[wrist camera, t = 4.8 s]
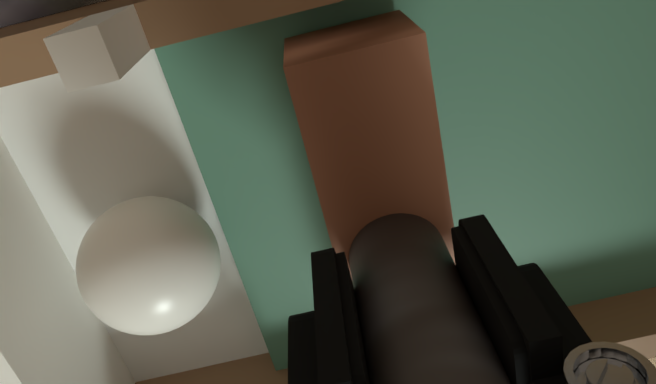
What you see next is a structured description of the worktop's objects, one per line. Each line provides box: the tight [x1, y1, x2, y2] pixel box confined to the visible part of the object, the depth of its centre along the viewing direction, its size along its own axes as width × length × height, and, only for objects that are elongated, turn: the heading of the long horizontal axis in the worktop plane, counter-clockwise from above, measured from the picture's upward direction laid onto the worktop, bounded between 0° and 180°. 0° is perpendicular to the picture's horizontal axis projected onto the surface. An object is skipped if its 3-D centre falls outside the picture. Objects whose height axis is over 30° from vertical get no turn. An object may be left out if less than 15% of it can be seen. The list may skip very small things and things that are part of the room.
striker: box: [283, 10, 511, 384], centre depth 12 cm, size 3×10×10 cm, turn 13°
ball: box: [76, 196, 221, 335], centre depth 16 cm, size 4×4×4 cm
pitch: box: [0, 0, 656, 384], centre depth 15 cm, size 23×14×6 cm, turn 103°
